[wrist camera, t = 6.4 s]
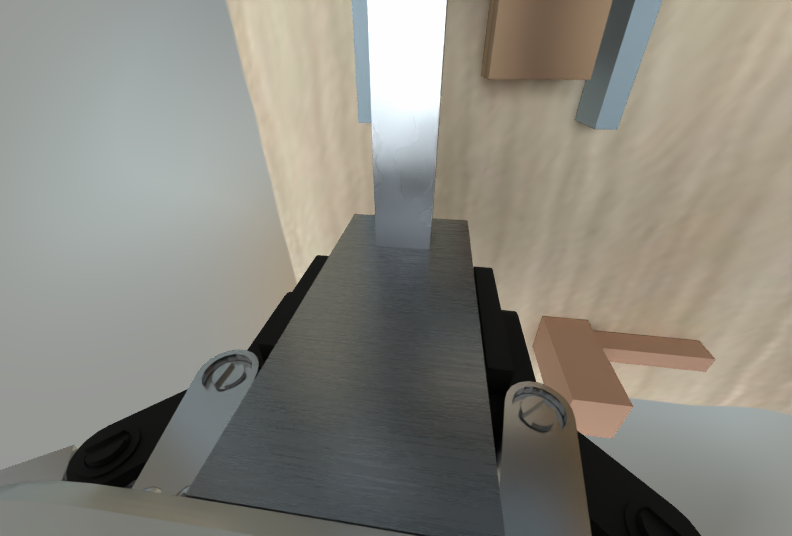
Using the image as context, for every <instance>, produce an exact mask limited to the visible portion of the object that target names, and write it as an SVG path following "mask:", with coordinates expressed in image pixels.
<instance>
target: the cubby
mask: <svg viewBox="0 0 792 536" xmlns="http://www.w3.org/2000/svg"><path fill="white" fill-rule="evenodd" d="M661 3H662V0H613V1H612V5H611V8H610V12H609V15H608V19H607V22H606V26H605V29H604V33H603V37H602V40H601V44H600V47H599V51H598V54H597V58H596V61H595V65H594V69H593V72H592V76H591V79H590V80H586V83H585V86H584V90H583V93H582V97H581V101H580V104H579V108H578V111H577V115H576V119H575V120H577V121H579V122H581V123H583V124H585V125H587V126H589V127H591V128H594V129H610V130H617V129H618V126H619V123H620V120H621V117H622V114H623V111H624V109H625V106H626V103H627V100H628V97H629V94H630V91H631V89H632V86H633V83H634V80H635V77H636V74H637V71H638V68H639V66H640V63H641V60H642V57H643V54H644V51H645V48H646V46H647V43H648V40H649V37H650V34H651V31H652V28H653V26H654V23H655V20H656V17H657V14H658V11H659V8H660V6H661ZM352 12H353V30H354V47H355V65H356V83H357V101H358V119H359V123H372V117H371V89H370V61H369V33H368V5H367V0H352Z"/></svg>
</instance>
